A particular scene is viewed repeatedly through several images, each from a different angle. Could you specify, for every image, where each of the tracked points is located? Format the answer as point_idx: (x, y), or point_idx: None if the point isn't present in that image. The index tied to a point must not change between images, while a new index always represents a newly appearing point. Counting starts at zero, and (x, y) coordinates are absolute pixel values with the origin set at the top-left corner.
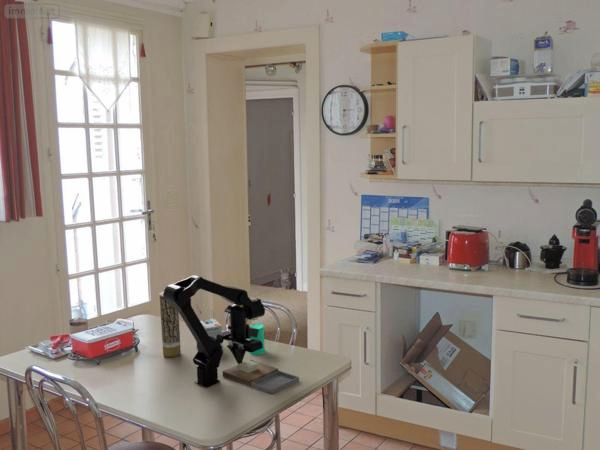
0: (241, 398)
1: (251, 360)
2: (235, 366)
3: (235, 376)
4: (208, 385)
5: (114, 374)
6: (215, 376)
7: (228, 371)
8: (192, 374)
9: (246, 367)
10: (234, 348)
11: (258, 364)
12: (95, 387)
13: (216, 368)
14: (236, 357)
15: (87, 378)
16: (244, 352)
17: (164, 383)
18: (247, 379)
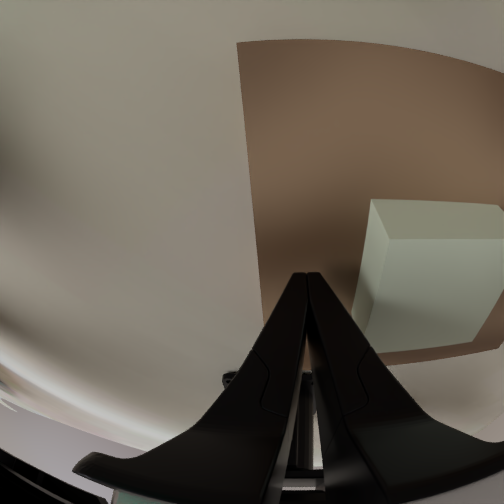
0: (482, 376)
1: (272, 58)
2: (273, 289)
3: (396, 360)
4: (315, 411)
5: (57, 407)
6: (300, 406)
7: (308, 359)
8: (139, 372)
9: (456, 341)
10: (278, 496)
11: (448, 111)
12: (112, 439)
13: (296, 441)
14: (300, 382)
15: (64, 421)
16: (395, 398)
17: (167, 422)
18: (482, 348)
